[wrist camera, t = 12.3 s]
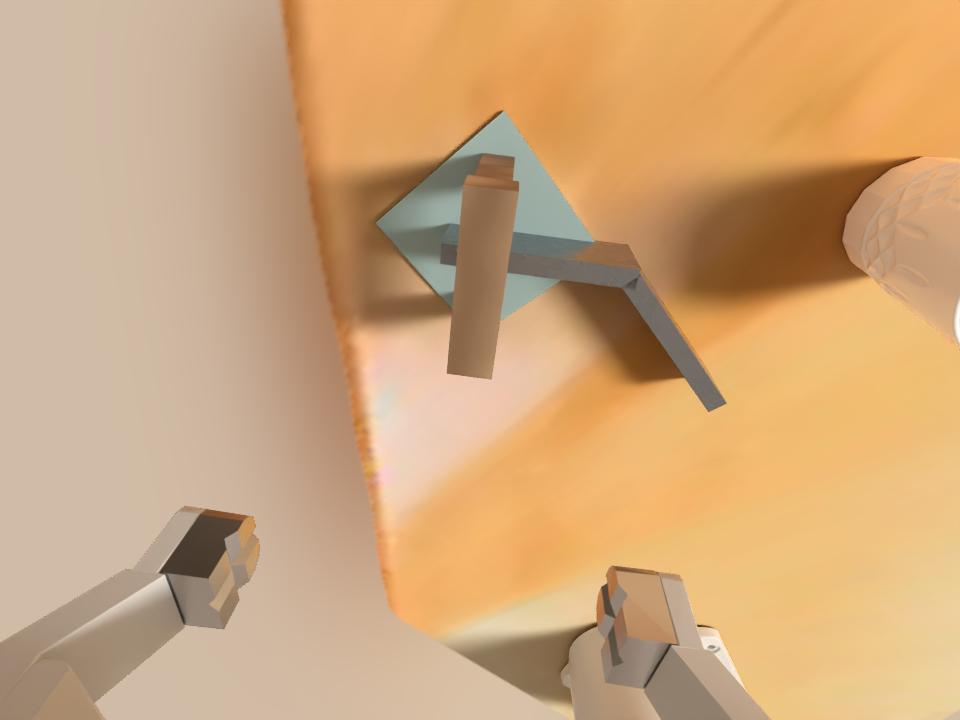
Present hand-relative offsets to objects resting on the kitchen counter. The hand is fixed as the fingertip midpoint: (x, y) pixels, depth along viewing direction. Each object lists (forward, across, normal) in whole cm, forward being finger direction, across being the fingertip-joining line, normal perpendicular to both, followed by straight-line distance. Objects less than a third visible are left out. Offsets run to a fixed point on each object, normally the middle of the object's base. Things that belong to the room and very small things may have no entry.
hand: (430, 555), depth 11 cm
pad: (+23, 0, 0) cm, 23 cm away
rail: (+23, +7, -4) cm, 24 cm away
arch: (+23, 0, 0) cm, 23 cm away
